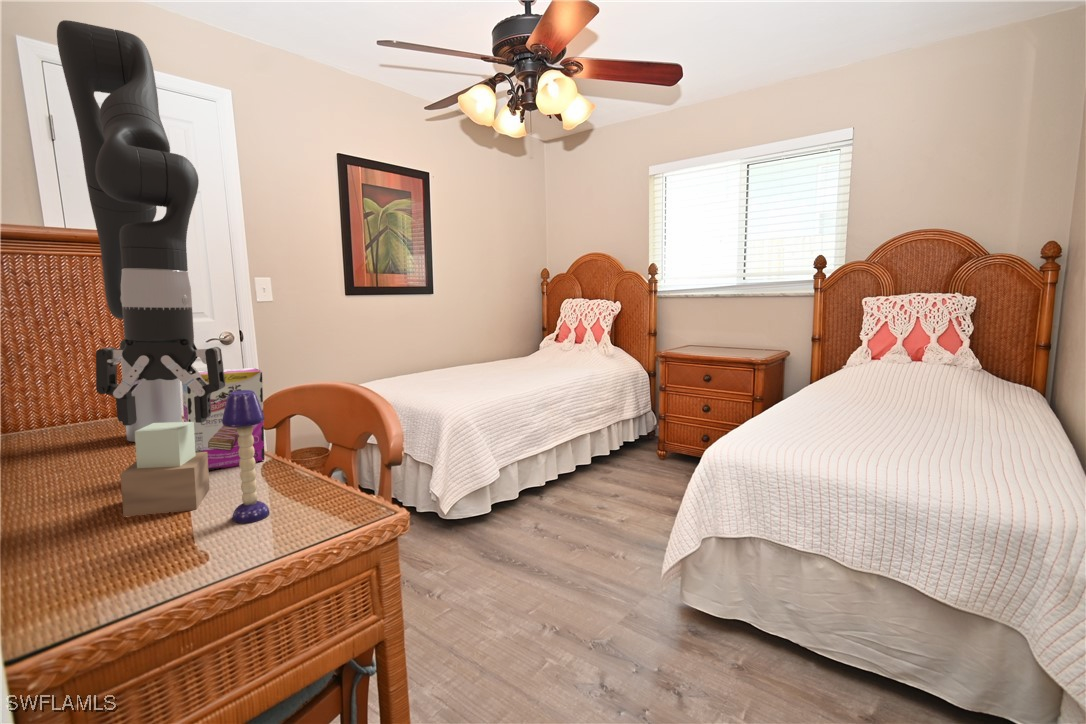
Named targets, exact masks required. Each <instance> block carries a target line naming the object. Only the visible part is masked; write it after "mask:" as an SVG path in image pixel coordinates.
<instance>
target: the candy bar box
mask: <svg viewBox="0 0 1086 724" xmlns="http://www.w3.org/2000/svg"><path fill="white" fill-rule="evenodd" d="M197 371H198V372H199V373H200V374H201V377H202V378H203V379H204V380H205V381H206V383H207V384H209V379H208V371H207V370H197ZM191 373H192V372H191ZM224 377H225V387H224V388H222V389H220V390H218V391H215V392H212V393H211V395H210V398H211V415H210V416H209V417H208V418H207V420H206V421H204V422H203V423H196V421H195V405H194V397H195V396H197V395H196V394H195V393H194V392H193V391H192V390H191V389H190V388H189V387H188V386H187V385H185V384H183V383H182V382H181V387H182V388H181V389H182V412H183V422H194V435H195V453H196V452H207V453H208V471H209V470H210V471H214V469H216V470H220V469H219V468H221V469H226V468H231V467H238V466H240V465H239V463H240V459H241V458H240V457H239V448H240V446H239V445H238V437H239V435H238V433H237V427H226V426H224V425H223V424H222V419H223V414H224V410H225V405H226V401H227V397H228V394H229V393H230V392H234V391H239V390H252V391H254V392H255V394H256V396H257V398H258V401H259V404H260V406H261V409H262V412H263V413H264V394H263V391H264V390H263V388H264V387H263V386H264V385H263V371H262V370H261V369H258V368H255V367H249V368H248V367H245V368H244V367H243V368H230V369H227V368H226V369H224ZM264 424H265V421H263V422H261V423H260V424H256V425H252V426H253V432H252V435H253V438H254V443H253V445H252V446H253V447H254V451H255V453H254V456H253V457H254V459H255V463H259V462H258V461H261V462H263V461H262V460H264V461H265V428H264V427H265V425H264Z"/></svg>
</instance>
